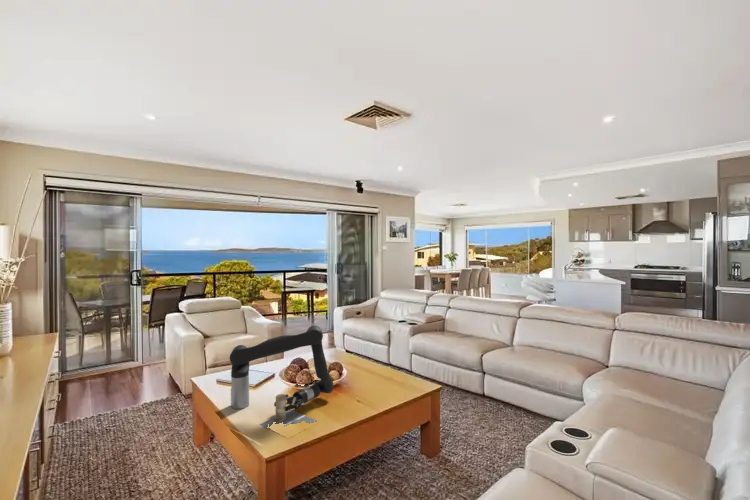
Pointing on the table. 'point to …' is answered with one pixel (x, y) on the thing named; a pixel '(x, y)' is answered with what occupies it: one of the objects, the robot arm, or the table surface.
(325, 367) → the robot arm
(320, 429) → the table surface
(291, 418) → the mat
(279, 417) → the birch cylinder
